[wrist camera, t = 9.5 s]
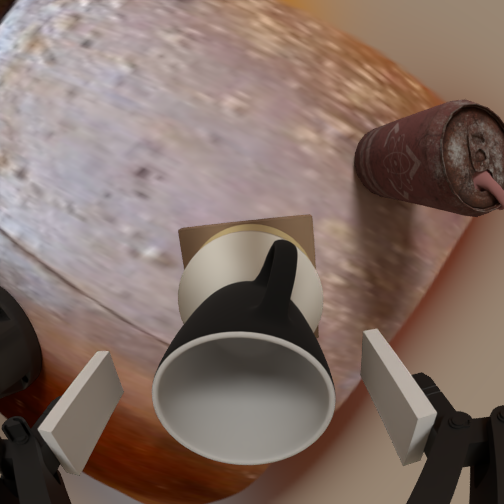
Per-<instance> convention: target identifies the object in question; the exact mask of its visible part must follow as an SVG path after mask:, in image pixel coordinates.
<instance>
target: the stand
mask: <svg viewBox="0 0 504 504" xmlns="http://www.w3.org/2000/svg"><path fill="white" fill-rule="evenodd" d="M178 233H179V239H180V246H181V252H182V258H183V264H184V273H183V275H182V277H181V281H180V284H179V290H178V305H179V312H180V315H181V319H182V321H183V324H185V322H186V321H187V320H188V318H189V317H190V316H191V314H192V313H193V312H194V311H195V310H196V309H197V308H198V307H199V306H200V304H201V303H202V302H203V301H204V300H206V299H207V298H208V297H209V296H210V295H211V294H213V293H214V292H216V291H217V290H219V289H221V288H222V287H224V286H227V285H229V284H232V283H236V282H241V281H253V280H255V279H256V277H257V276H258V274H259V273H260V271H261V269H262V266H263V264H264V261H265V259H266V256H267V254H268V252H269V249H270V247H271V246H272V244H273V243H274V241H276V240H280V239H283V240H287V241H290V242H291V243H293V244H294V245H295V246H296V248H297V252H298V260H297V270H296V276H295V281H294V286H293V290H292V294H291V300H292V301H293V302H294V304H295V305H296V306H297V307H298V309H299V310H300V311H301V313H302V314H303V316H304V317H305V319H306V320H307V322H308V324H309V326H310V327H311V329H312V331H313V333H314V335H315V337H316V338H319V335H318V324H319V321H320V318H321V315H322V309H323V290H322V285H321V282H320V279H319V276H318V274H317V271H316V265H315V248H314V234H313V221H312V216H311V215H310V214H309V215H299V216H288V217H278V218H268V219H258V220H248V221H239V222H230V223H221V224H212V225H203V226H195V227H186V228H181V229H180V230H178Z"/></svg>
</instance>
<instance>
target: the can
mask: <svg viewBox="0 0 504 504" xmlns="http://www.w3.org/2000/svg"><path fill="white" fill-rule="evenodd" d="M355 166H356V170H357V174H358V176H359V178H360V180H361V181H362V183H363V185H364V186H365V187H367V188H368V189H369V190H370V191H371V192H372V193H374V194H377V195H379V196H381V197H386V198H391V199H396V200H400V201H405V202H410V203H414V204H419V205H423V206H427V207H432V208H436V209H440V210H444V211H448V212H452V213H456V214H460V215H465V216H473V217H478V216H481V215H484V214H487V213H489V212H491V211H492V210H495V209H499V210H503V209H504V123H503V122H502V120H501V119H500V117H499V116H498V115H497V114H495V113H494V112H493V111H491V110H490V109H489V108H488V107H485V106H482V105H479V104H477V103H474V102H471V101H468V100H456V101H450V102H447V103H444V104H441V105H438V106H435V107H433V108H430V109H427V110H424V111H421V112H418V113H416V114H413V115H410V116H407V117H405V118H402V119H399V120H396V121H394V122H391V123H388V124H386V125H383V126H381V127H378V128H375V129H373V130H371V131H370V132H368V133H367V134H365V135H364V137H363V138H362V139H361V140H360V142H359V143H358V146H357V149H356V152H355Z"/></svg>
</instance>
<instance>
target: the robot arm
mask: <svg viewBox="0 0 504 504" xmlns="http://www.w3.org/2000/svg"><path fill="white" fill-rule="evenodd" d="M41 365H42V359H41V351H40V347H39V343H38V340H37V337H36V335H35V332H34V330H33V328H32V325H31V323H30V322H29V320H28V318H27V316H26V315H25V313H24V311H23V310H22V308H21V307H20V306H19V304H18V303H17V302H16V300H15V299H14V298H13V297H12V296H11V295H10V294H9V293H8V292H7V291H6V290H5V289H3V288H2V287H1V286H0V398H3V397H5V396H8V395H11V394H13V393H16V392H19V391H21V390H24V389H26V388H27V387H28V386H30V385H31V383H32V382H33V381H34V380H35V379H36V378H37V377H38V376H39V374H40V371H41ZM360 375H361V377H362V379H363V381H364V384H365V385H366V388H367V390H368V392H369V394H370V396H371V398H372V400H373V402H374V404H375V406H376V408H377V410H378V413H379V415H380V417H381V419H382V421H383V423H384V425H385V427H386V430H387V432H388V434H389V436H390V438H391V440H392V443H393V445H394V447H395V449H396V451H397V454H398V456H399V458H400V460H401V462H402V465H403V466H405V465H408V464H411V463H414V462H417V461H420V460H421V457H422V455H423V452H425V454H426V456H427V461H426V463H425V465H424V468H423V470H422V472H421V474H420V477H419V479H418V481H417V483H416V485H415V487H414V489H413V491H412V493H411V495H410V498H409V499H408V501H407V503H406V504H450V502H451V499H452V496H453V494H454V491H455V488H456V485H457V482H458V479H459V476H460V473H461V470H462V467H468V466H470V500H469V504H504V405H502V406H498V407H496V408H495V409H493V411H492V413H491V415H490V417H484V418H476V419H472V418H471V416H469V415H468V414H467V413H464V412H459V411H456V410H455V409H454V408H453V407H452V405H451V404H450V402H449V401H448V400H447V398H446V397H445V396H444V394H443V393H442V392H440V389H439V388H438V387H437V386H436V384H435V383H434V381H433V380H432V379H431V378H430V377H429V376H427V375H425V374H424V373H418V374H414V375H411V374H410V373H409V372H408V370H407V369H406V368H405V366H404V364H403V363H402V362H401V360H400V359H399V358H398V356H397V355H396V353H395V352H394V351H393V349H392V348H391V347H390V345H389V344H388V342H387V341H386V340H385V338H384V337H383V336H382V334H381V333H380V332H379V330H378V329H372V330H366V331H363V343H362V360H361V374H360ZM123 392H124V391H123V388H122V386H121V383H120V380H119V378H118V375H117V372H116V369H115V367H114V364H113V361H112V358H111V355H110V352H109V351H97V352H96V354H95V355H94V356H93V357H92V359H91V360H90V361H89V362H88V364H87V365H86V366H85V367H84V369H83V370H82V371H81V372H80V374H79V375H78V376H77V377H76V379H75V380H74V381H73V383H72V384H71V385H70V386H69V388H68V389H67V390H66V392H65V393H64V394H63V396H59V397H57V398H56V399H55V400H53V401H52V402H51V403H50V405H49V406H48V407H47V409H46V410H45V411H44V412H43V415H41V416H40V418H39V419H38V420H37V422H36V423H35V424H34V426H33V427H32V428H31V429H30V427H29V426H28V424H27V422H26V421H25V419H24V418H22V417H19V416H15V417H12V418H9V419H8V420H6V421H5V422H4V424H3V425H2V430H3V432H4V434H5V435H6V437H7V438H8V440H7V439H1V437H0V473H1V478H0V504H71V502H70V499H69V496H68V494H67V491H66V488H65V485H64V482H63V479H62V477H61V474H60V472H59V471H58V467H59V465H60V464H61V466H62V467H63V468H64V470H65V471H66V472H67V473H71V474H75V475H79V476H80V474H81V472H82V470H83V468H84V466H85V464H86V462H87V460H88V458H89V456H90V454H91V453H92V451H93V449H94V447H95V445H96V443H97V441H98V439H99V437H100V435H101V433H102V431H103V429H104V428H105V426H106V424H107V422H108V420H109V418H110V416H111V414H112V413H113V411H114V409H115V407H116V405H117V403H118V401H119V400H120V398H121V396H122V394H123Z"/></svg>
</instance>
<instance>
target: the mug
mask: <svg viewBox="0 0 504 504" xmlns="http://www.w3.org/2000/svg"><path fill="white" fill-rule="evenodd" d="M297 260H298V252H297V248H296V246H295V245H294V244H293V243H291V242H290V241H287V240H283V239H280V240H276V241H274V243H273V244H272V246H271V247H270V249H269V252H268V254H267V256H266V259H265V261H264V264H263V266H262V269H261V271H260V273H259V274H258V276H257V277H256V279H255V280H253V281H241V282H236V283H232V284H229V285H227V286H224V287H222V288H221V289H219V290H217V291H216V292H214V293H213V294H211V295H210V296H209V297H208V298H207V299H206V300H204V301H203V302H202V303H201V304H200V306H199V307H198V308H197V309H196V310H195V311H194V312H193V313H192V314H191V316H190V317H189V318H188V320H187V321H186V322H185V324H184V325H183V326H182V328H181V329H180V330H179V332H178V333H177V335H176V336H175V338H174V339H173V341H172V342H171V344H170V346H169V347H168V349H167V351H166V353H165V354H164V356H163V358H162V360H161V362H160V364H159V366H158V369H157V371H156V374H155V376H154V380H153V385H152V400H153V405H154V409H155V412H156V414H157V416H158V418H159V420H160V422H161V423H162V425H163V426H164V428H165V429H166V430H167V431H168V432H169V433H170V435H172V436H173V437H174V438H175V439H176V440H177V441H178V442H179V443H181V444H182V445H183V446H185V447H186V448H188V449H190V450H191V451H193V452H195V453H197V454H199V455H201V456H204V457H206V458H209V459H212V460H215V461H219V462H224V463H229V464H237V465H258V464H266V463H272V462H276V461H280V460H283V459H286V458H288V457H291V456H293V455H295V454H297V453H299V452H301V451H302V450H304V449H306V448H307V447H308V446H310V445H311V444H312V443H313V442H315V441H316V440H317V439H318V438H319V437H320V436H321V435H322V434H323V432H324V431H325V430H326V428H327V426H328V425H329V423H330V421H331V418H332V416H333V413H334V409H335V388H334V383H333V380H332V376H331V373H330V369H329V367H328V364H327V361H326V359H325V357H324V354H323V352H322V350H321V347H320V345H319V343H318V341H317V339H316V337H315V335H314V333H313V331H312V329H311V327H310V326H309V324H308V322H307V320H306V319H305V317H304V316H303V314H302V313H301V311H300V310H299V309H298V307H297V306H296V305H295V304H294V302H293V301H292V300H291V294H292V290H293V286H294V281H295V276H296V270H297Z"/></svg>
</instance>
